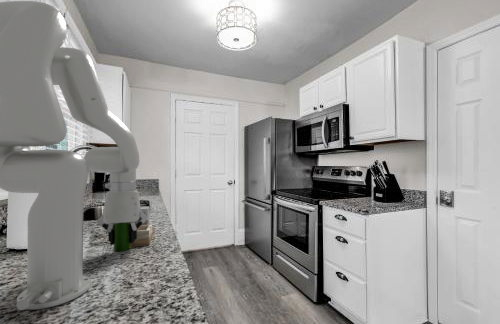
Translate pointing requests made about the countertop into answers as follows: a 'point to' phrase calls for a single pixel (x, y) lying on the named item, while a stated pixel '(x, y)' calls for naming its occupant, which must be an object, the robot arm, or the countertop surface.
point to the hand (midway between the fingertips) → (122, 242)
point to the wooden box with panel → (144, 230)
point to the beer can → (122, 238)
